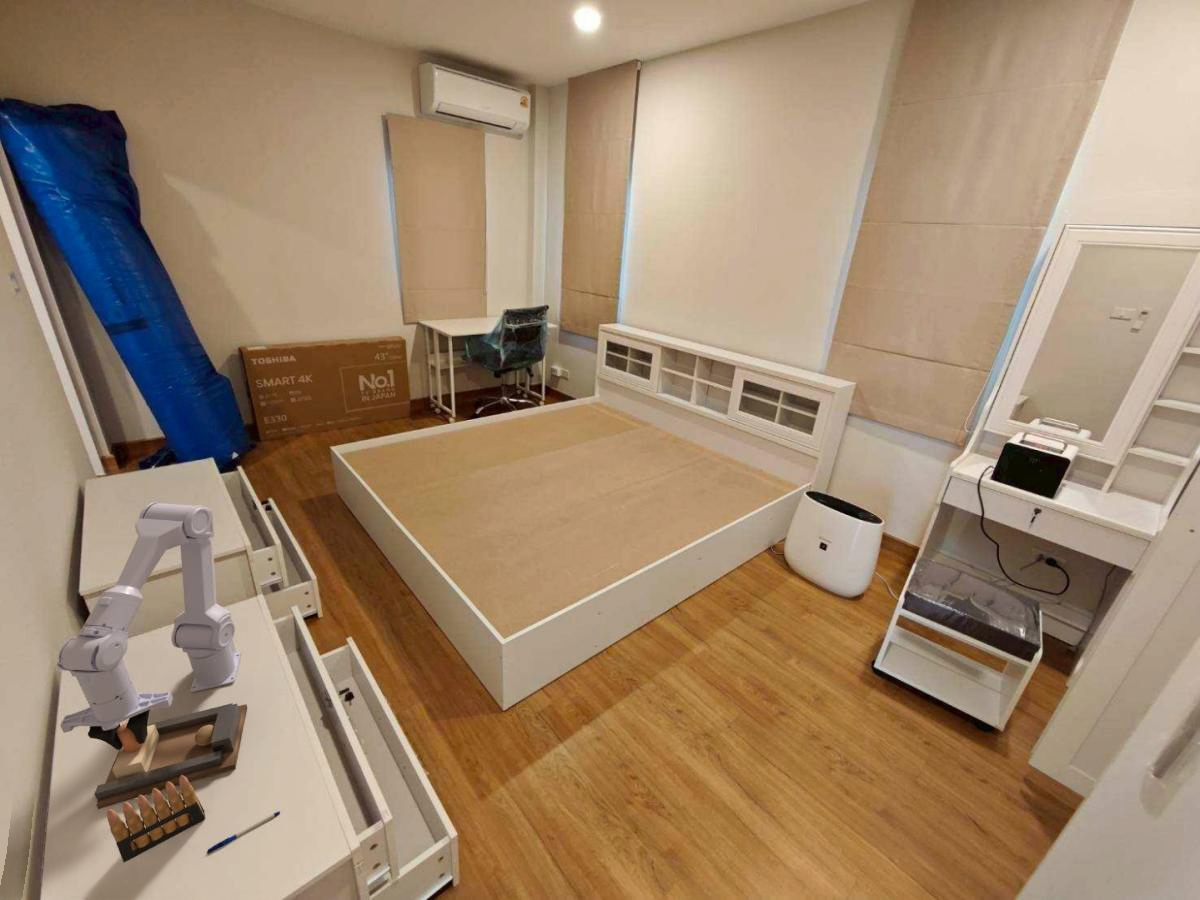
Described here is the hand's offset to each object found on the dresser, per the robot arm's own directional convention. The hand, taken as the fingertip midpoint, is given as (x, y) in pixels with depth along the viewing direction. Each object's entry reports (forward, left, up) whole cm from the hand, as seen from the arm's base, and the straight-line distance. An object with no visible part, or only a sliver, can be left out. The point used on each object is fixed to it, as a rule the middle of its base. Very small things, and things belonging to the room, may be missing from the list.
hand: (132, 741), depth 92 cm
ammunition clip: (+16, +7, -7) cm, 19 cm away
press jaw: (0, 0, -5) cm, 5 cm away
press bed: (0, +6, -6) cm, 9 cm away
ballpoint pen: (+20, +19, -7) cm, 29 cm away
